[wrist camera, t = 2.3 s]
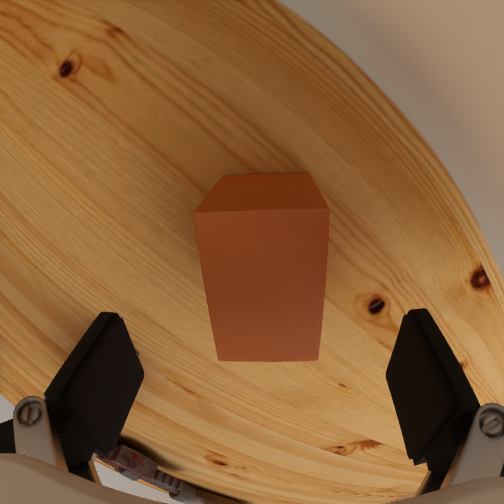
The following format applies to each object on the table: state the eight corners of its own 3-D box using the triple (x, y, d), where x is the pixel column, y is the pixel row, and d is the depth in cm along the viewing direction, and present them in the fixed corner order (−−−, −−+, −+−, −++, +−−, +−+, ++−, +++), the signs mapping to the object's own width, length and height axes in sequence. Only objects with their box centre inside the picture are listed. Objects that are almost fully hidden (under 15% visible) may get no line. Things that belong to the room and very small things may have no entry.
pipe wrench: (58, 418, 32) (46, 441, 28) (80, 403, 28) (65, 433, 23) (240, 505, 44) (237, 524, 39) (287, 499, 39) (286, 521, 35)
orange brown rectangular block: (222, 175, 15) (192, 212, 10) (309, 172, 15) (329, 208, 9) (234, 289, 18) (218, 361, 13) (307, 288, 18) (317, 360, 12)
